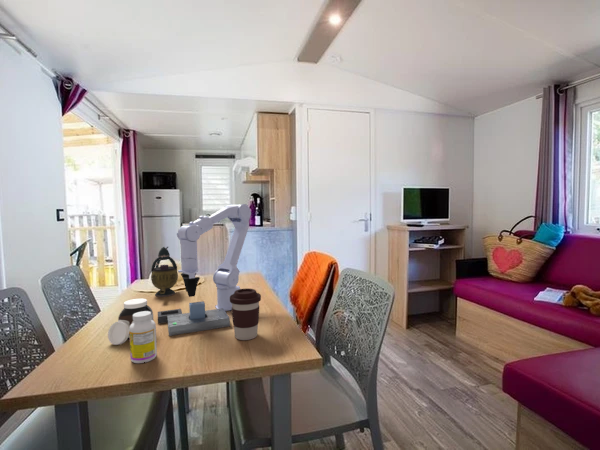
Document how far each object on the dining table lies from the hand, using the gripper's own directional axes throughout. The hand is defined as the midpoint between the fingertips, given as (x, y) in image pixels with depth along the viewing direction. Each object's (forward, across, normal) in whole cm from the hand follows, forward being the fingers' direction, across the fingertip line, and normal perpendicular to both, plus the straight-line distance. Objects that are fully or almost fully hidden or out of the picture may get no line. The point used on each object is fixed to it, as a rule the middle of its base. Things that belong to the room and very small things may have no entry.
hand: (190, 293), depth 121 cm
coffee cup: (+10, +24, +14) cm, 30 cm away
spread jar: (+10, +10, -20) cm, 24 cm away
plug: (+10, +7, +1) cm, 12 cm away
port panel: (+10, +7, +2) cm, 12 cm away
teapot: (+10, -39, -7) cm, 41 cm away
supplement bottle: (+10, +27, -16) cm, 33 cm away
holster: (+10, -4, -7) cm, 13 cm away
